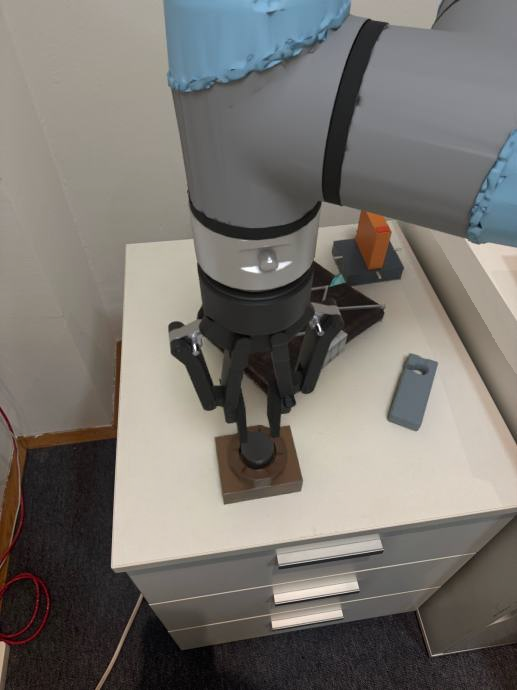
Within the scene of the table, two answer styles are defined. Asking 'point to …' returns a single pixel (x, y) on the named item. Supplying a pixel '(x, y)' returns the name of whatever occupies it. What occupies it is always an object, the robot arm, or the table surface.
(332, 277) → the book
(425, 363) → the bracket
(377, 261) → the orange handle lever
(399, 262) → the plate
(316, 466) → the table surface
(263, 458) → the release button
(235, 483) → the block
